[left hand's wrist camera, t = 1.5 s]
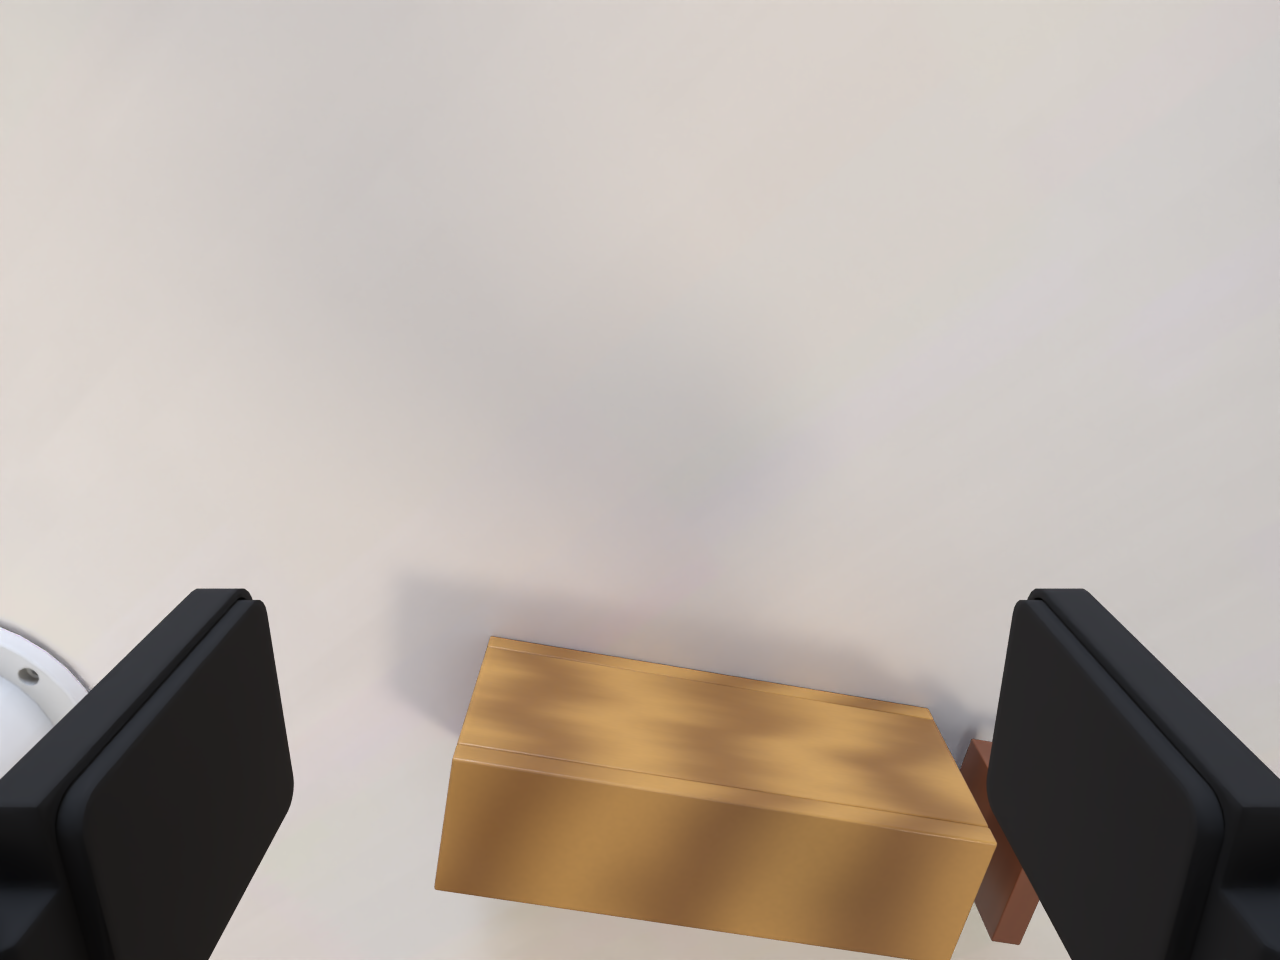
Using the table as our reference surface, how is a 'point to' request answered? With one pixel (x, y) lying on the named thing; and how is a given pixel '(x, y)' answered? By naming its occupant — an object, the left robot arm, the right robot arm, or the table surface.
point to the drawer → (998, 862)
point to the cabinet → (710, 804)
